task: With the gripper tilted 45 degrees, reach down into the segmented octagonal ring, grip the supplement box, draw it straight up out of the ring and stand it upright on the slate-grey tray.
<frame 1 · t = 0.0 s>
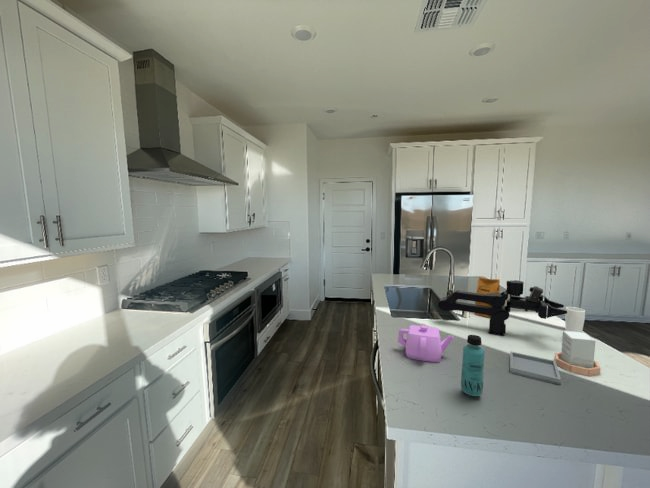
hand: (565, 309, 125), 17 cm above the counter, tool horizontal, fingers open, 9 cm apart
supplement box: (575, 366, 109), resting in segmented octagonal ring
teakettle: (424, 354, 121), on the counter
drinking glass: (572, 340, 131), on the counter
beverage bottle: (471, 395, 93), on the counter
segmented octagonal ring: (575, 366, 109), on the counter
coffee package: (486, 315, 165), on the counter
tray: (533, 369, 108), on the counter
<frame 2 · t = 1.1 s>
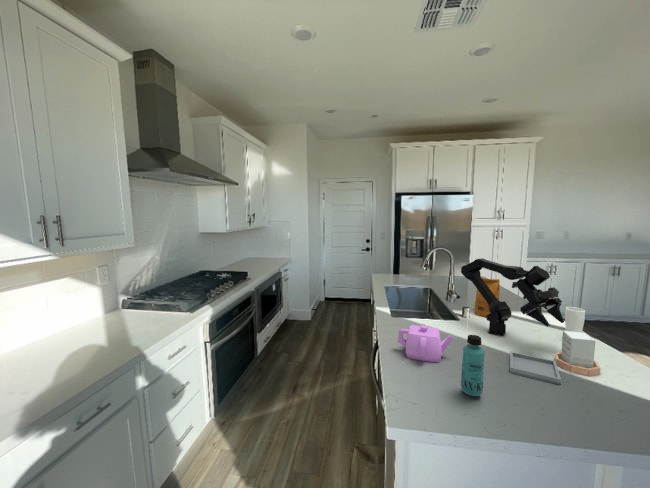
hand: (555, 324, 115), 14 cm above the counter, tool tilted 45°, fingers open, 9 cm apart
nothing on the counter moved.
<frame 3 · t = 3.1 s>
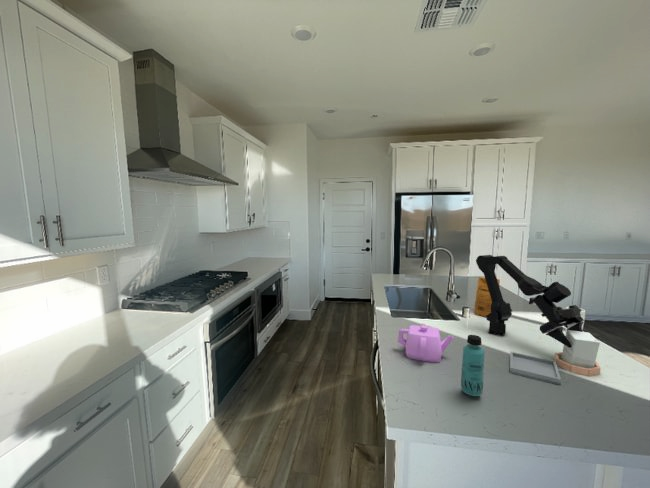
hand: (578, 344, 108), 9 cm above the counter, tool tilted 45°, fingers open, 9 cm apart
supplement box: (576, 365, 109), resting in segmented octagonal ring, touching gripper
everything else where it was.
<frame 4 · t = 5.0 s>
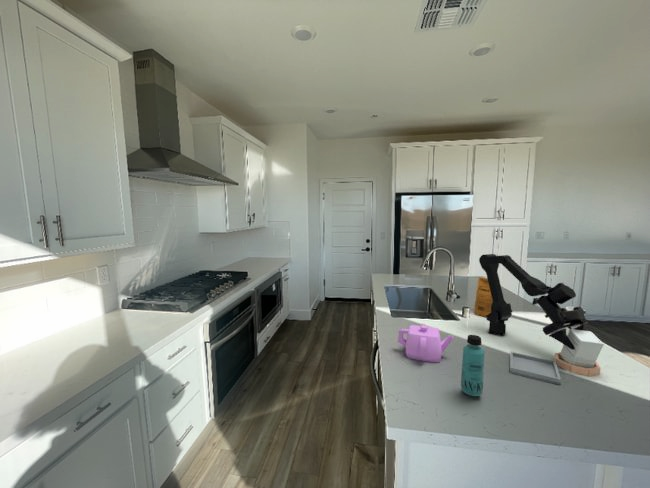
hand: (581, 347, 107), 8 cm above the counter, tool tilted 45°, fingers closed on supplement box, 9 cm apart
supplement box: (574, 362, 110), point 1 cm above the counter, touching gripper
everything else where it was.
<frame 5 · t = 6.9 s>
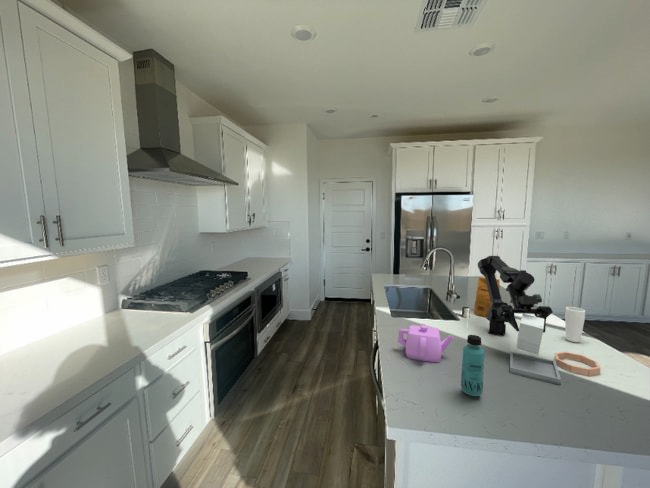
hand: (531, 331, 111), 13 cm above the counter, tool tilted 45°, fingers closed on supplement box, 9 cm apart
supplement box: (527, 347, 114), point 5 cm above the counter, touching gripper
everything else where it was.
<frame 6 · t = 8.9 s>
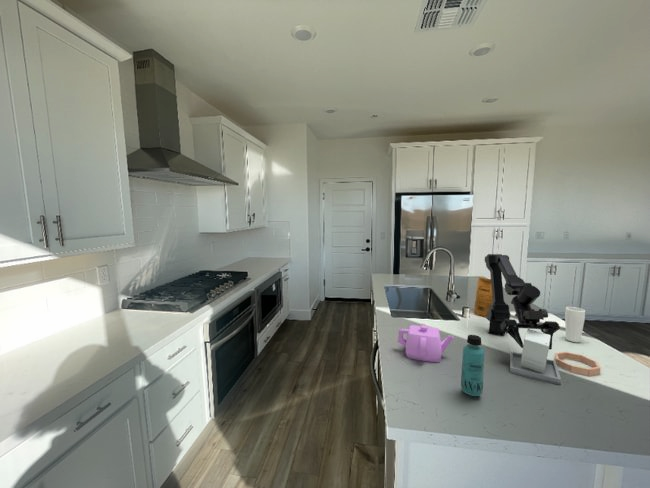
hand: (536, 348, 106), 9 cm above the counter, tool tilted 45°, fingers closed on supplement box, 9 cm apart
supplement box: (532, 364, 108), point 2 cm above the counter, touching gripper, tray
everything else where it was.
when the fingers open (10 cm above the counter, at t = 10.4 s): supplement box drops 2 cm, resting on tray.
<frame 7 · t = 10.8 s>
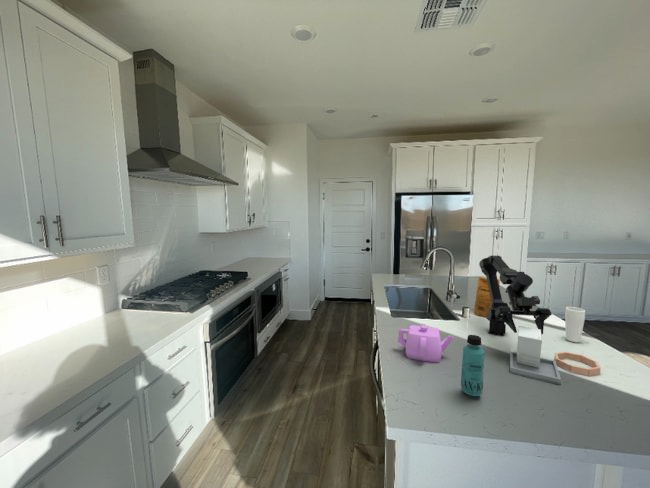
hand: (528, 333, 111), 12 cm above the counter, tool tilted 45°, fingers open, 9 cm apart
supplement box: (527, 360, 112), point 1 cm above the counter, touching tray
everything else where it was.
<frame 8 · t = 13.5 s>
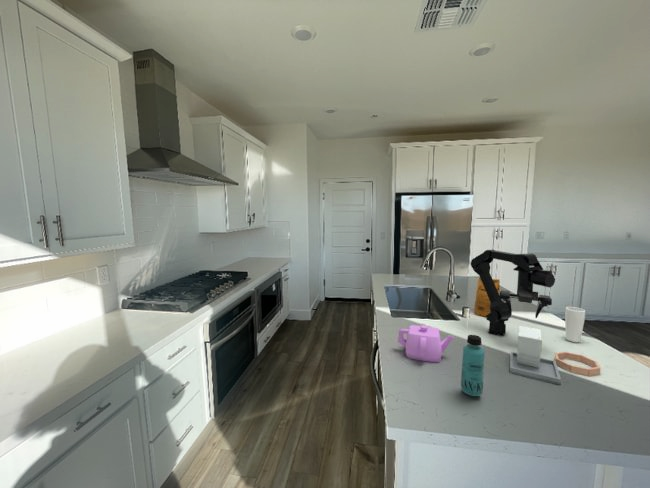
hand: (523, 316, 127), 13 cm above the counter, tool pointing down, fingers open, 9 cm apart
nothing on the counter moved.
at the end: supplement box inside the target area on the tray (4.4 cm from its centre), point 1.3 cm above the tray's base; supplement box tilted 13°; the gripper is holding nothing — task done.
